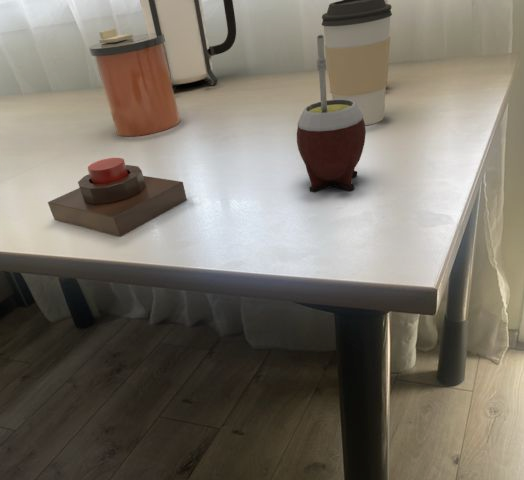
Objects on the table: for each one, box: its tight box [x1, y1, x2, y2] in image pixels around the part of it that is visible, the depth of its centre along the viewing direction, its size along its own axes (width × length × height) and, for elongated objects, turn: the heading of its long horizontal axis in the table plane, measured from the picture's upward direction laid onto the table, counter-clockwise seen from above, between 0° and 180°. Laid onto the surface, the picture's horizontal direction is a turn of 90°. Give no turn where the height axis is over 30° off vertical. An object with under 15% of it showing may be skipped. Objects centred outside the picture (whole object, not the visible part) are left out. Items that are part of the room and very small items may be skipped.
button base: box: [47, 164, 188, 238], centre depth 60 cm, size 12×10×4 cm
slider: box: [98, 28, 133, 43], centre depth 85 cm, size 4×4×2 cm
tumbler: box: [88, 33, 181, 137], centre depth 88 cm, size 12×12×13 cm
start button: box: [87, 157, 128, 184], centre depth 58 cm, size 4×4×2 cm
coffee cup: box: [321, 0, 393, 127], centre depth 72 cm, size 9×9×15 cm
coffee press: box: [139, 0, 237, 93], centre depth 108 cm, size 17×16×30 cm
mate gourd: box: [296, 34, 367, 193], centre depth 53 cm, size 8×8×15 cm
